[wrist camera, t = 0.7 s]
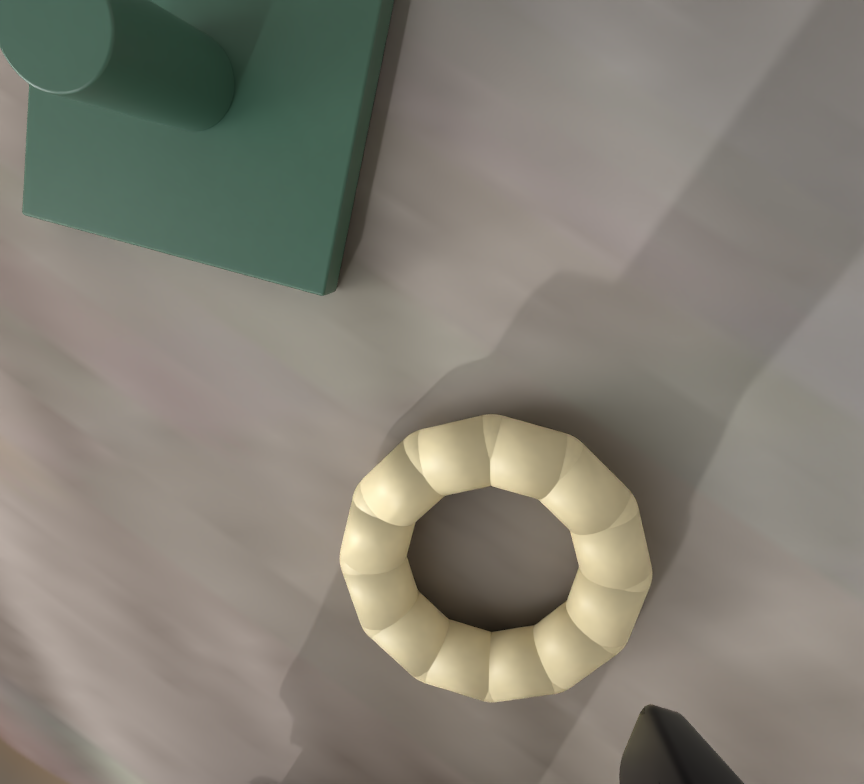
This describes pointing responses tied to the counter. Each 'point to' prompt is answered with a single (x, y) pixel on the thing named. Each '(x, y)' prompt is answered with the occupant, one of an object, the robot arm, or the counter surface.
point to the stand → (201, 124)
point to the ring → (520, 473)
